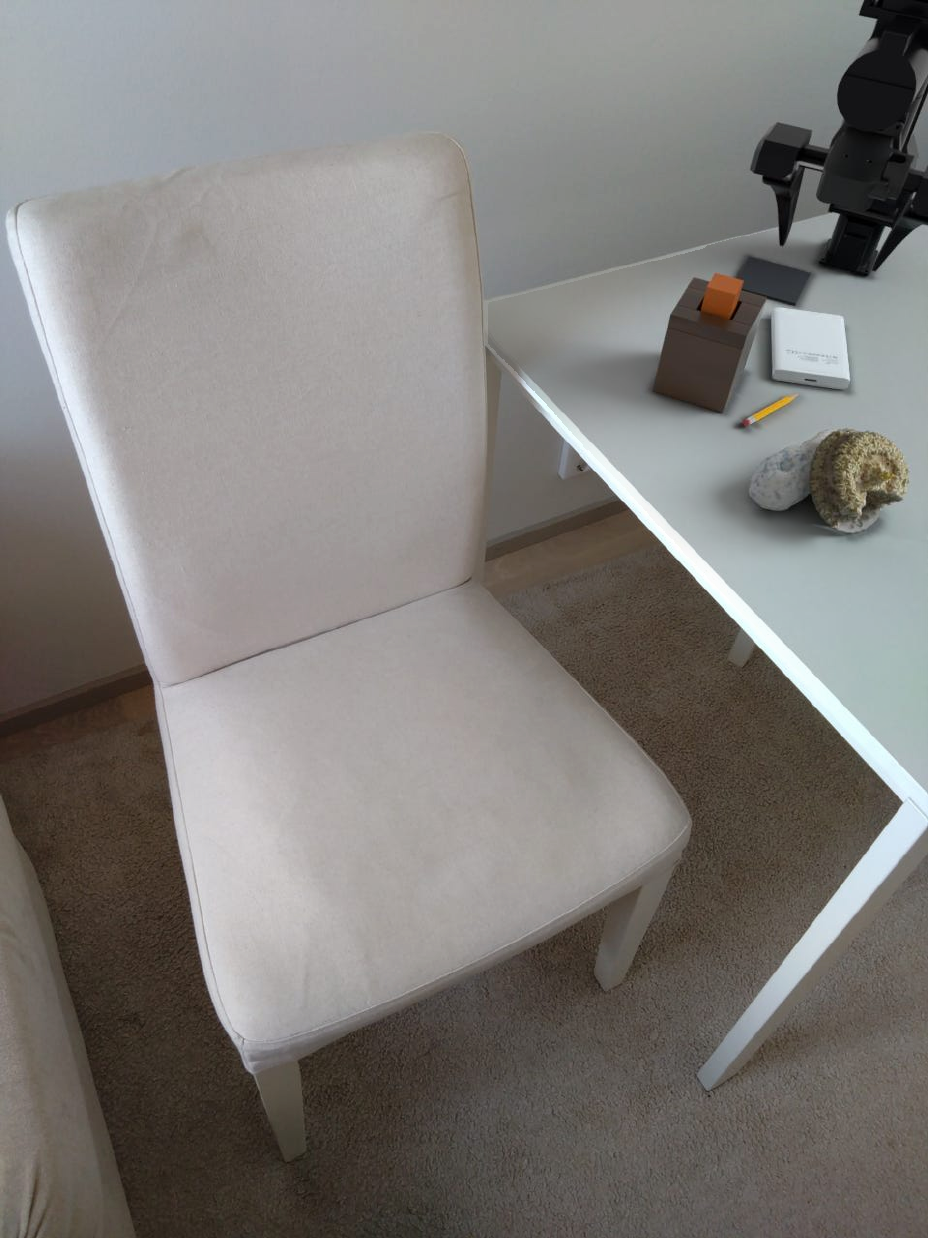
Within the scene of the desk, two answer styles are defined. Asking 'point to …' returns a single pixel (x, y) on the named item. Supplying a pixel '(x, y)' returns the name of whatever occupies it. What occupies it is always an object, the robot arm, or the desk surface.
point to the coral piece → (856, 478)
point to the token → (722, 296)
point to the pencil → (768, 410)
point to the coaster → (773, 280)
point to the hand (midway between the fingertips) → (827, 256)
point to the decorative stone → (785, 475)
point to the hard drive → (809, 348)
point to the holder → (706, 348)
